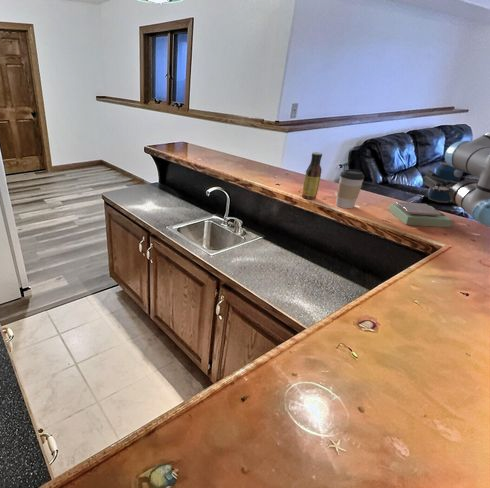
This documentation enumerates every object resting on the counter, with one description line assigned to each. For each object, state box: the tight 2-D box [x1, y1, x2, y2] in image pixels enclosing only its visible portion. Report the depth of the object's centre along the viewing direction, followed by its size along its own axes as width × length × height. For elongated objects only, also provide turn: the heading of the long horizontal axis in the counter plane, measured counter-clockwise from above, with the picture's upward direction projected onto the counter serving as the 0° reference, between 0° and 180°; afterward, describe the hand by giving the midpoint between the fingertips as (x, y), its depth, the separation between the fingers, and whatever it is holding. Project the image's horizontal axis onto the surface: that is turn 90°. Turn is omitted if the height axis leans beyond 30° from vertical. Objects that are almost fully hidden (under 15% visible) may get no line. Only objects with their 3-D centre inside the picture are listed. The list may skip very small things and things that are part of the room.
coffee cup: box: [335, 168, 365, 209], centre depth 144 cm, size 9×9×15 cm
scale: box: [388, 203, 453, 228], centre depth 135 cm, size 15×15×3 cm
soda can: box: [427, 161, 465, 203], centre depth 114 cm, size 7×7×12 cm
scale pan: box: [395, 201, 442, 216], centre depth 134 cm, size 11×11×1 cm
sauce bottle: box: [301, 151, 323, 200], centre depth 152 cm, size 7×6×20 cm
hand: (440, 175), depth 118 cm, fingers closed on soda can, 7 cm apart
